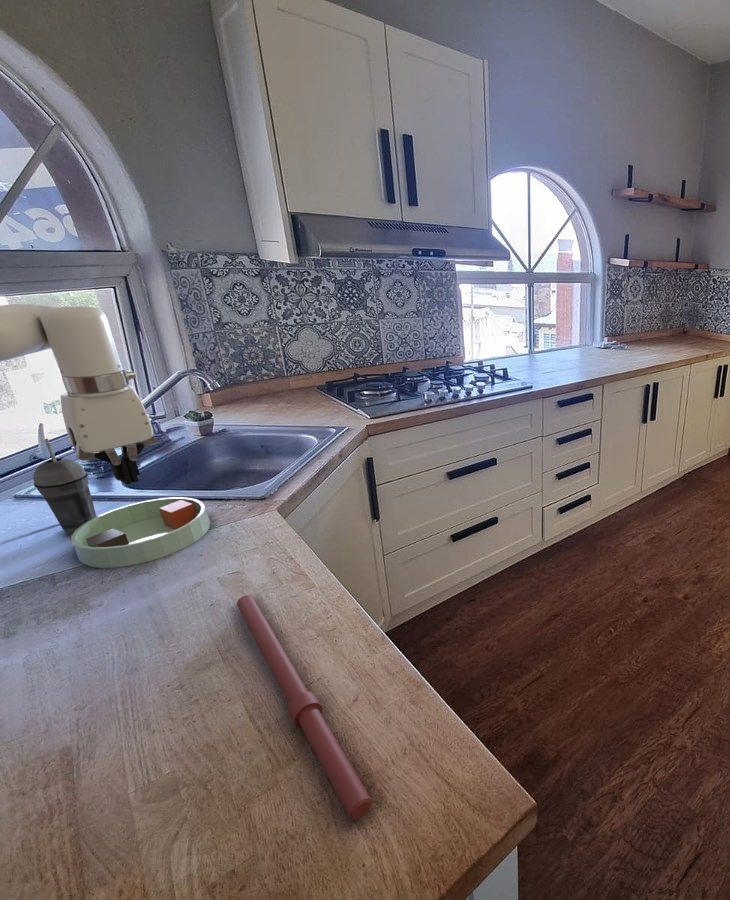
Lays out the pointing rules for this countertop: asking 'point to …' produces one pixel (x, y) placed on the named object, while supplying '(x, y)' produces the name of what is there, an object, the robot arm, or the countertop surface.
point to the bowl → (139, 534)
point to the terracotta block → (177, 514)
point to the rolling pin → (307, 713)
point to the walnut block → (108, 539)
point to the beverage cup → (65, 491)
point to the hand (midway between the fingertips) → (129, 481)
